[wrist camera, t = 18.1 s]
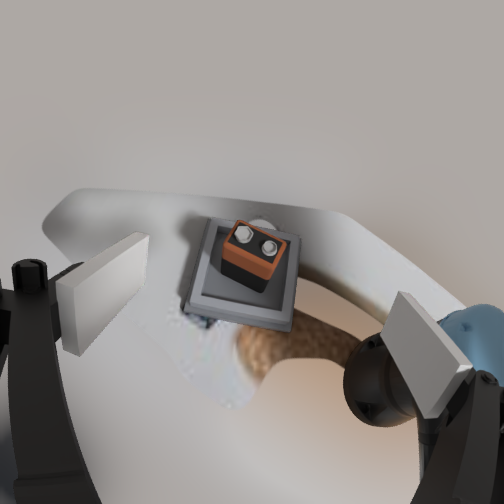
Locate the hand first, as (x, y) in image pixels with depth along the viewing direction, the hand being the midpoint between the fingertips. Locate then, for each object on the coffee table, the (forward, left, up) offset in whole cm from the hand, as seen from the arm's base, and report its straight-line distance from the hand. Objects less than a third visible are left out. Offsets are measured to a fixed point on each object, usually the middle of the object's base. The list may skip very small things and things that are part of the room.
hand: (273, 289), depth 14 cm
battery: (+12, 0, -27) cm, 29 cm away
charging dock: (+12, 0, -27) cm, 30 cm away
